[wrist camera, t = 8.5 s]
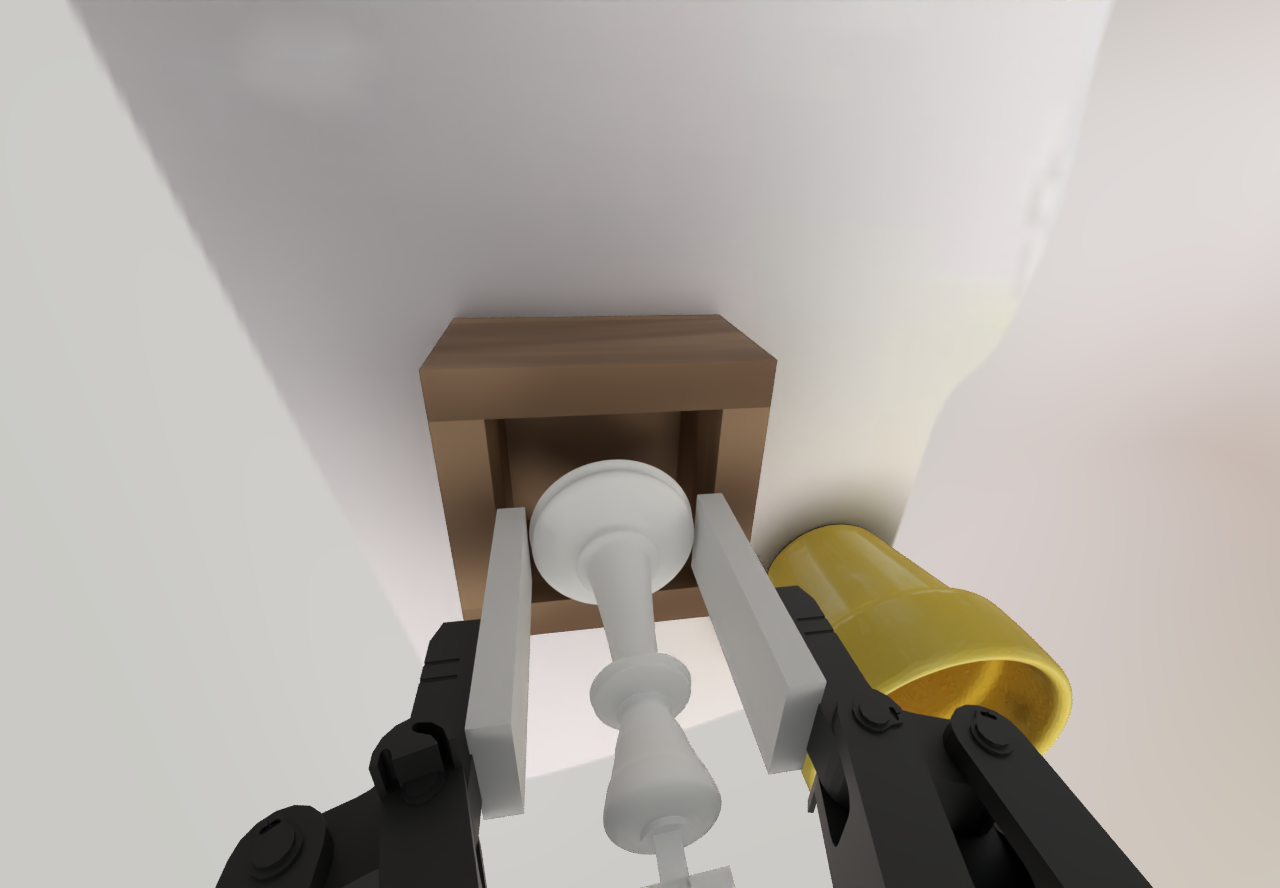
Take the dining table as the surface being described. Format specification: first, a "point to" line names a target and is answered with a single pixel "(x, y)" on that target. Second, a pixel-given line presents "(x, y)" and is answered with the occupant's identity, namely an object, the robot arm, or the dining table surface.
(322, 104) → the dining table surface
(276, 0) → the dining table surface
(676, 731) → the chess piece
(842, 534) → the plant pot
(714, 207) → the dining table surface
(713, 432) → the walnut holder
